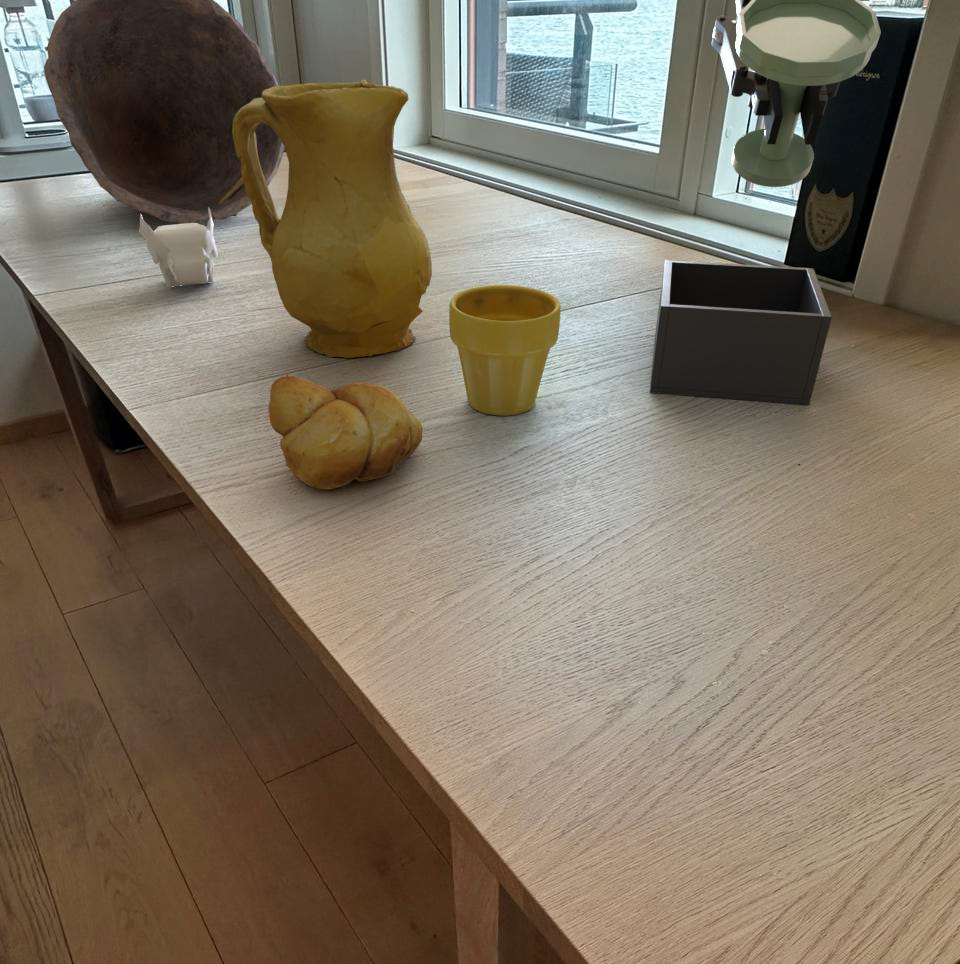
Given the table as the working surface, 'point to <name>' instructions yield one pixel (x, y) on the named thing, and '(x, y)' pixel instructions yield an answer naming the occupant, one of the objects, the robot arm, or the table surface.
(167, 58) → the bowl
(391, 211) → the pitcher
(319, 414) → the bread roll
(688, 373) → the bin
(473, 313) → the flower pot
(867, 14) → the pedestal stand
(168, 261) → the white open carton
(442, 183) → the table surface
